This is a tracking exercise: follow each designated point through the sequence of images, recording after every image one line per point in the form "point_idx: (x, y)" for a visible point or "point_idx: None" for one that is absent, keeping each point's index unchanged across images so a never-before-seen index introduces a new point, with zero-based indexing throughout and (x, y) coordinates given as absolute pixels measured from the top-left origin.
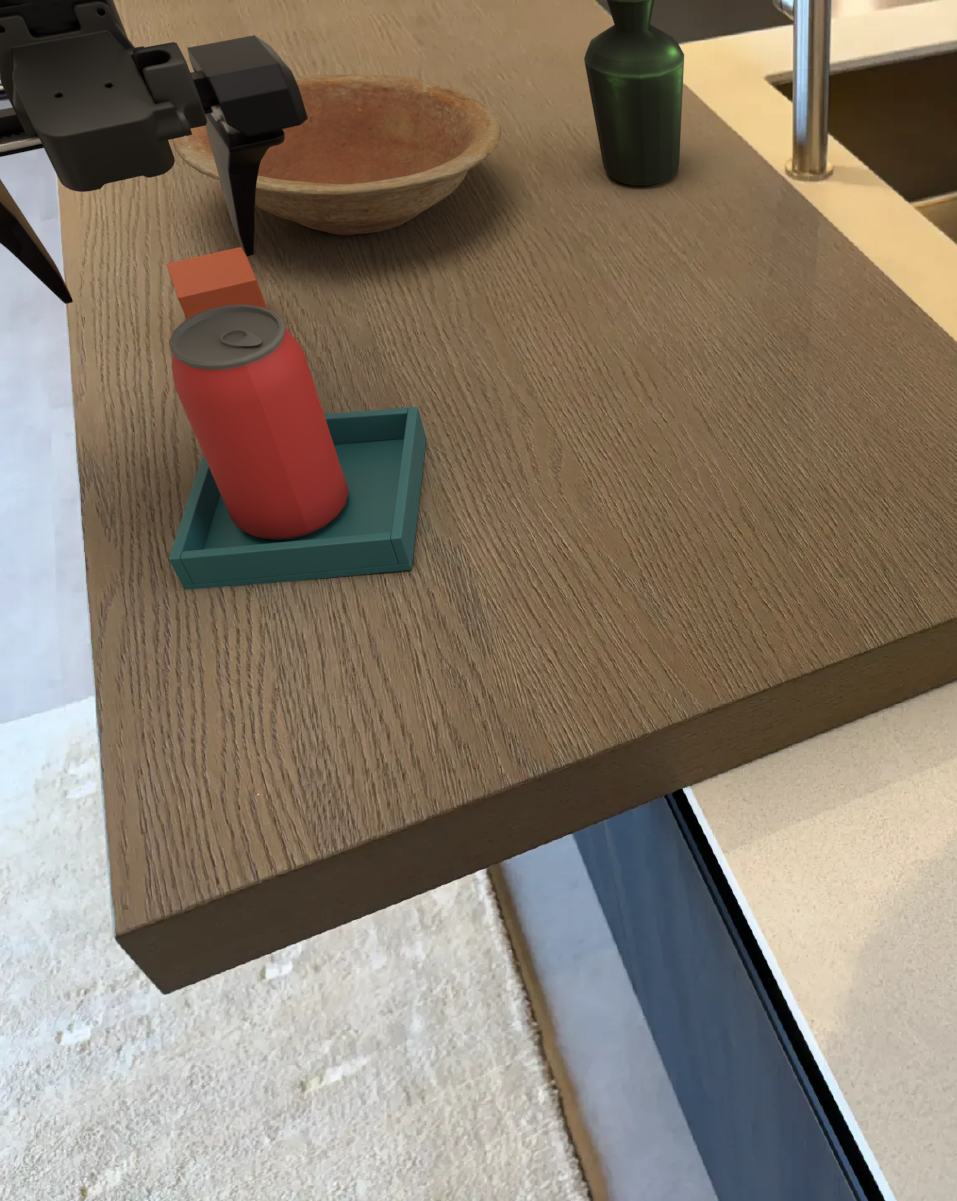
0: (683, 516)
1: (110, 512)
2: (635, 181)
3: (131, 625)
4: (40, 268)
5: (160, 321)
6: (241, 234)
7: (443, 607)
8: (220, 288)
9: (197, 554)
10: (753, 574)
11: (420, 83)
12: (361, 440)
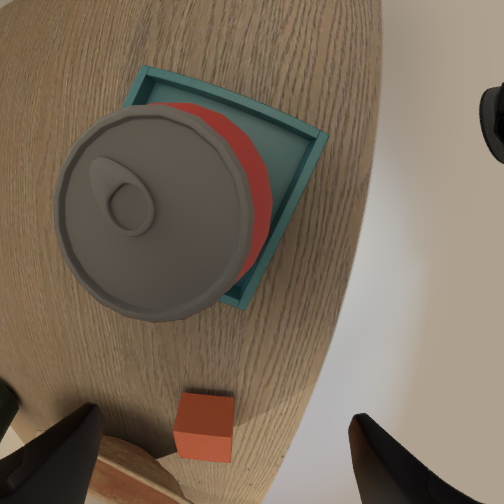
0: (16, 88)
1: (339, 279)
2: (4, 387)
3: (359, 142)
4: (398, 456)
5: (250, 436)
6: (75, 426)
7: (153, 47)
8: (199, 434)
9: (305, 125)
10: (21, 37)
11: None
12: None
